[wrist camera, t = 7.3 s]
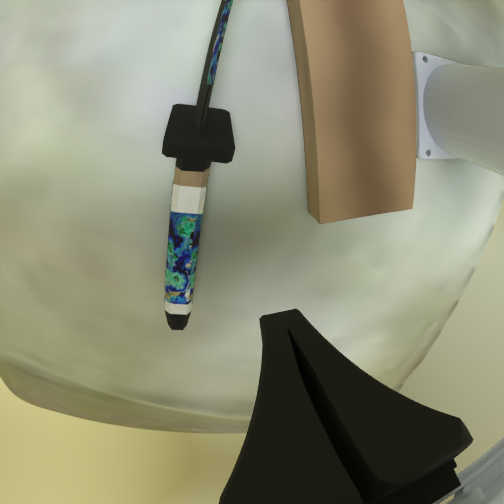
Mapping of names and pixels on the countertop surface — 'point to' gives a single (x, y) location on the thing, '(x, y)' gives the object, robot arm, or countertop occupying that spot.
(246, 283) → the countertop surface
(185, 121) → the knife
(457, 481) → the robot arm
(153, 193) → the countertop surface
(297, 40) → the walnut board
